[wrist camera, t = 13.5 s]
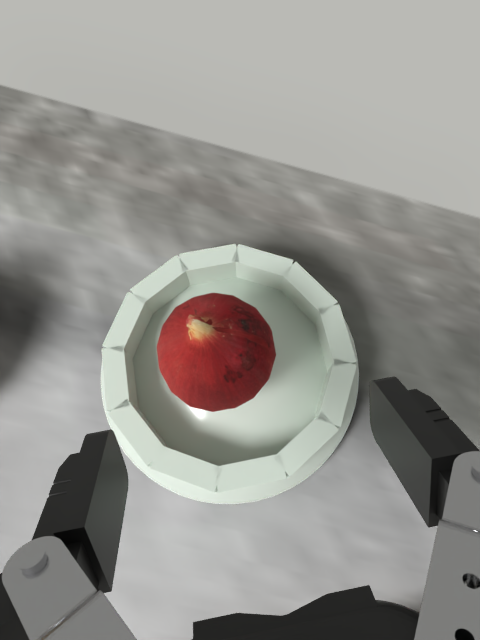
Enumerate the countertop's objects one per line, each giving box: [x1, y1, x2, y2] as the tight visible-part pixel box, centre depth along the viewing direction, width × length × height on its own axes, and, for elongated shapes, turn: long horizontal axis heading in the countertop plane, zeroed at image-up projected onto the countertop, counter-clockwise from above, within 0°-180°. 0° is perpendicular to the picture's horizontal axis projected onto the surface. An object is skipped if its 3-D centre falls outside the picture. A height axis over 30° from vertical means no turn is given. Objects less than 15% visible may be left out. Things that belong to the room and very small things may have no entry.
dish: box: [101, 244, 359, 504], centre depth 25 cm, size 15×15×3 cm
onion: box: [157, 293, 276, 412], centre depth 21 cm, size 6×6×8 cm
